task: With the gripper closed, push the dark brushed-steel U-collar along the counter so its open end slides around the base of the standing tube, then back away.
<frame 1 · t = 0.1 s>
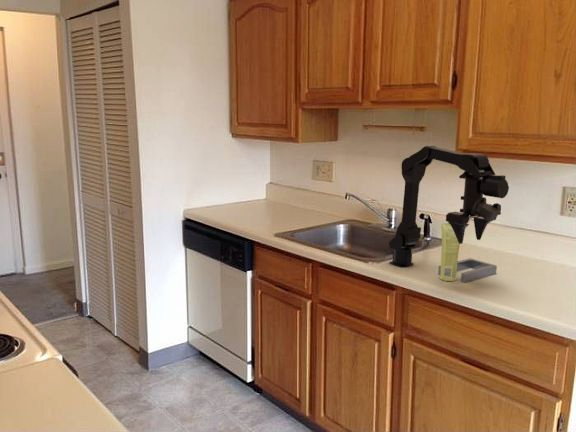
hand: (469, 241, 170), 15 cm above the worktop, fingers open, 9 cm apart
tube: (448, 280, 179), on the worktop
u collar: (481, 270, 189), on the worktop
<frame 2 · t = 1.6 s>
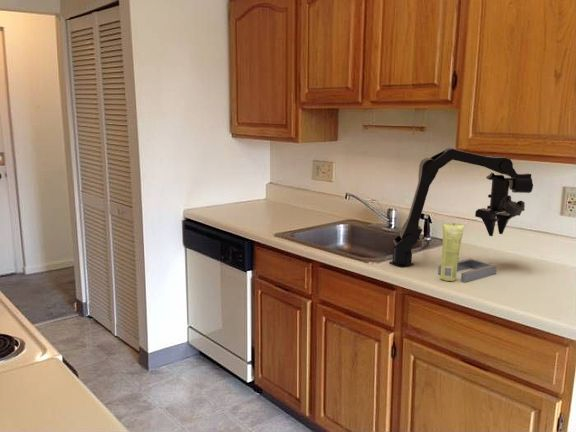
hand: (495, 235, 191), 12 cm above the worktop, fingers open, 6 cm apart
nothing on the worktop moved.
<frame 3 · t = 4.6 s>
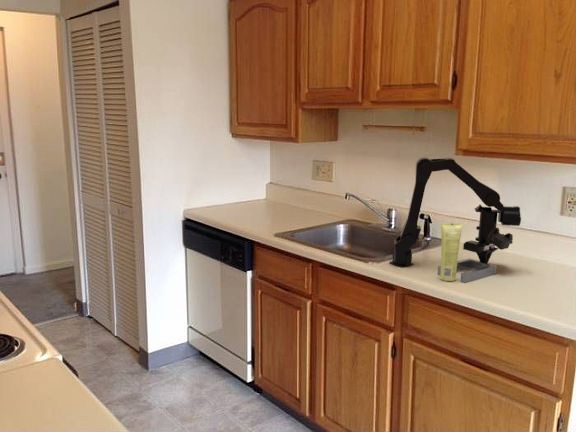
hand: (484, 266, 190), 1 cm above the worktop, fingers closed
u collar: (480, 270, 189), on the worktop, touching gripper
everything else where it was.
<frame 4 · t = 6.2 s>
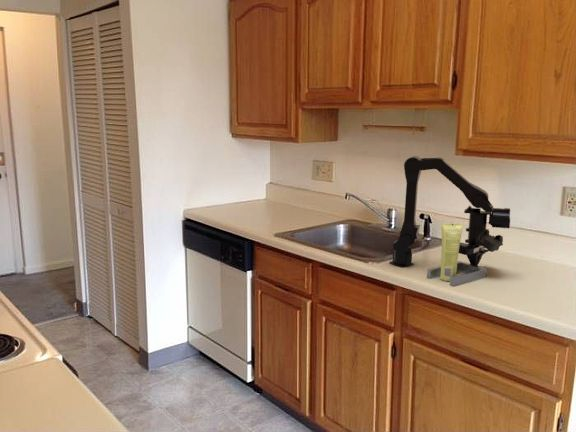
hand: (474, 269, 187), 1 cm above the worktop, fingers closed
u collar: (470, 273, 186), on the worktop, touching gripper
everything else where it was.
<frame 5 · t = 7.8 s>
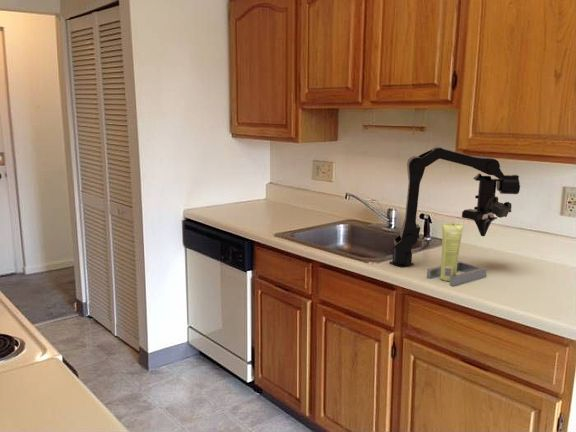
hand: (482, 236, 190), 12 cm above the worktop, fingers closed
u collar: (470, 273, 186), on the worktop
everything else where it was.
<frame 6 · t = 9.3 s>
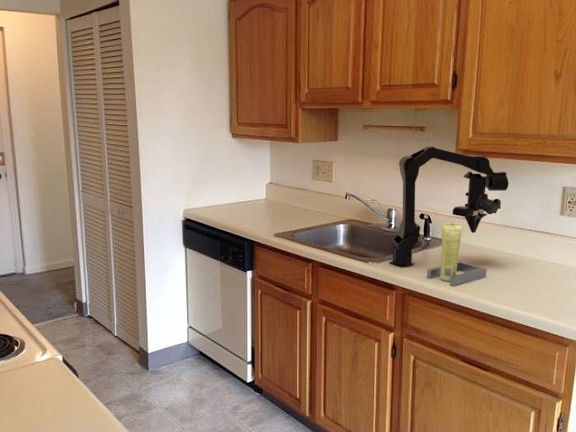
hand: (473, 232, 195), 12 cm above the worktop, fingers closed
nothing on the worktop moved.
at the end: u collar 2.5 cm from the target spot on the worktop beside the tube, on the worktop; tube tilted 0°; tube moved 0.2 cm from its start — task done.
